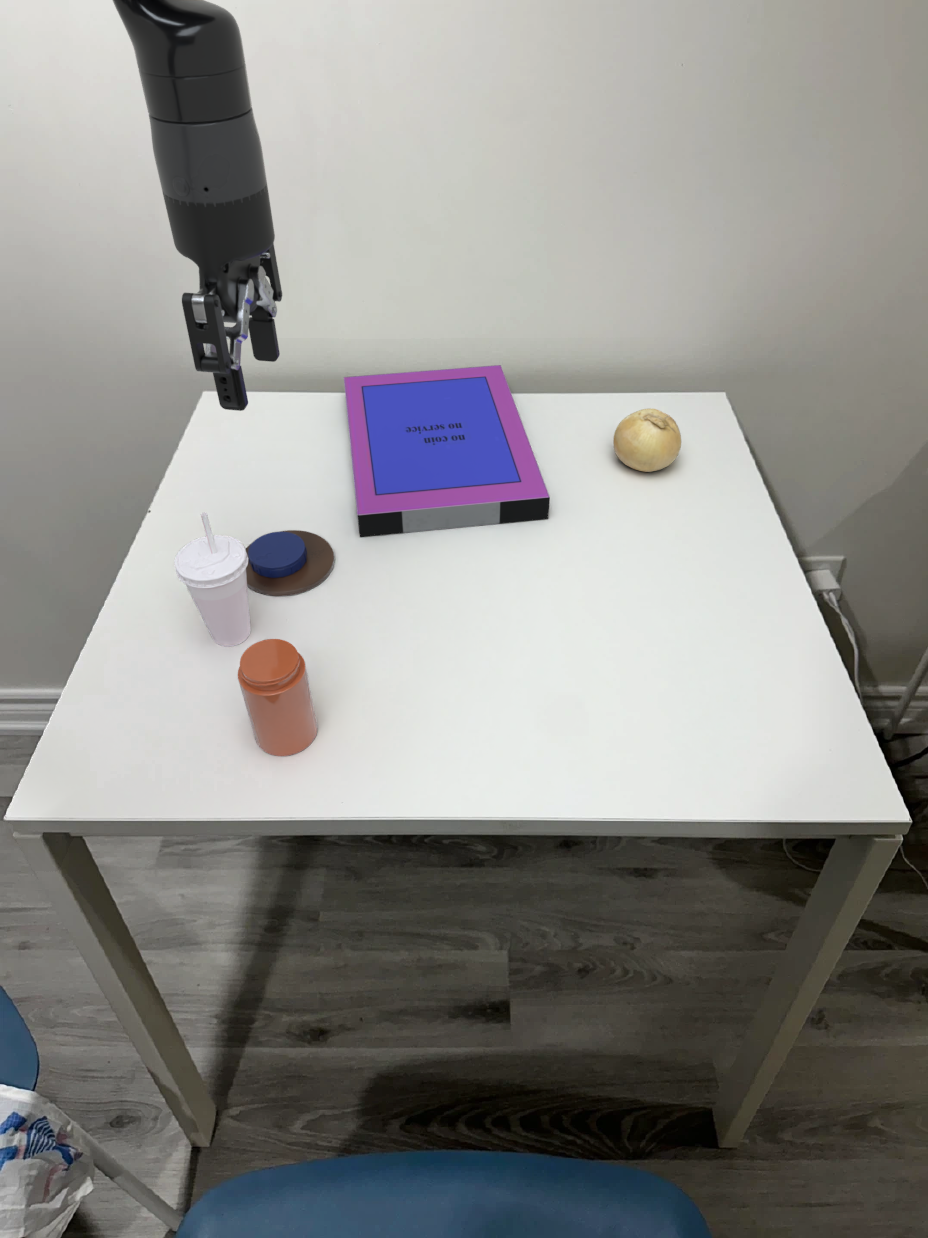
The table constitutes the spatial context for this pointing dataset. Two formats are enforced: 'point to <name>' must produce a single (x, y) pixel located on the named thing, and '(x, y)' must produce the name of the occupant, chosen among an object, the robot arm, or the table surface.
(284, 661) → the jar
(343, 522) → the table surface
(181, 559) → the smoothie
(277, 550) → the jar lid
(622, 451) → the onion
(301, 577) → the coaster
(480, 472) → the book
